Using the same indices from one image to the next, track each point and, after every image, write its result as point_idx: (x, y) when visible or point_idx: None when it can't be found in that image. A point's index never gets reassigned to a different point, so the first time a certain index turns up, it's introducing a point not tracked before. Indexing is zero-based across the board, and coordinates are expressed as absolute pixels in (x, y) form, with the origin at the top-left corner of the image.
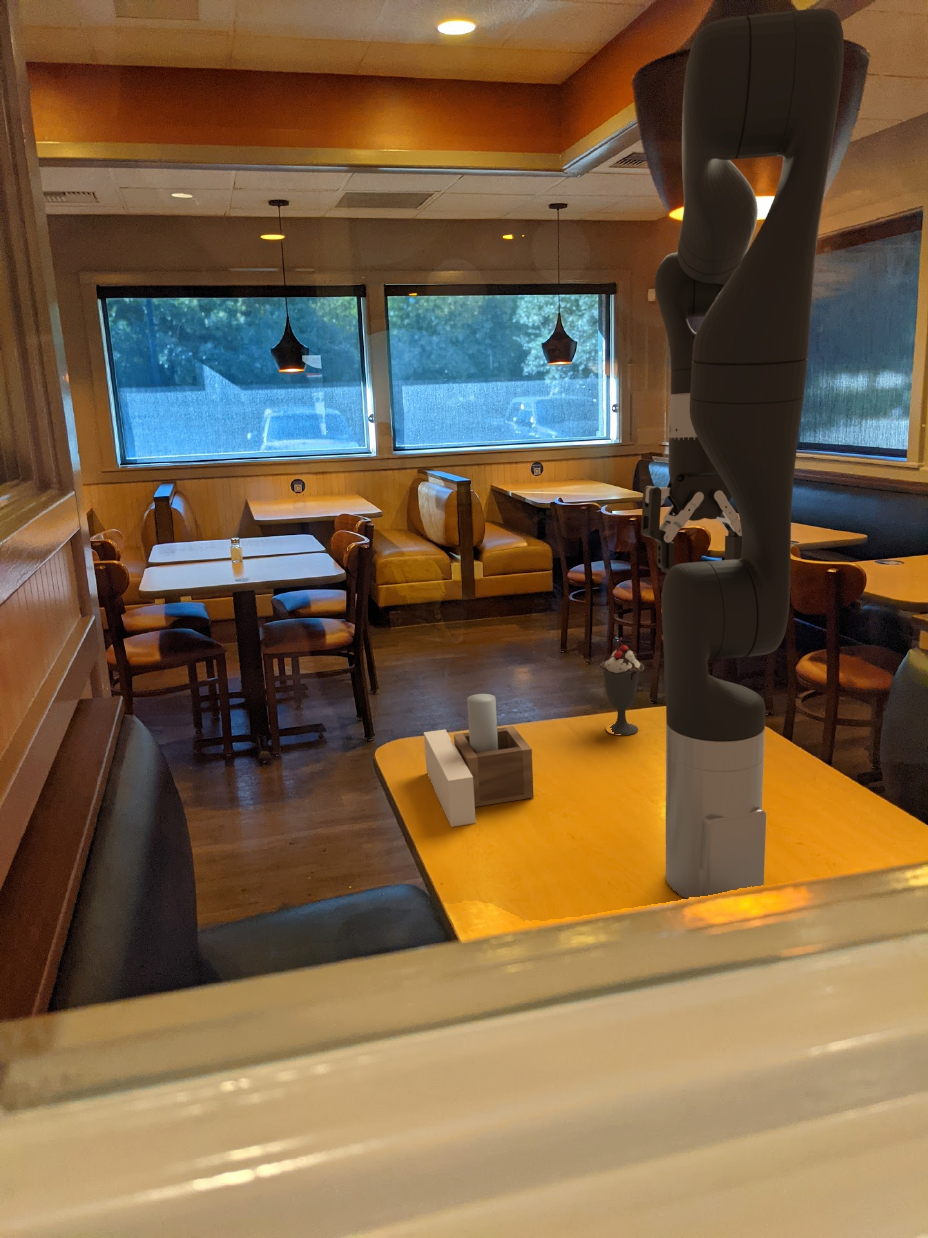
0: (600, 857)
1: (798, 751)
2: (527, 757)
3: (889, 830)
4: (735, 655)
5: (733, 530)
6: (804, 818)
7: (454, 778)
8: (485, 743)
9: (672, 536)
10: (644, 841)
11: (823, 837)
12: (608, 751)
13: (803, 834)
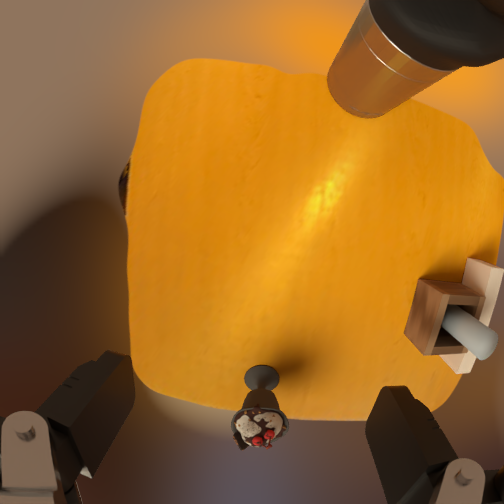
0: (419, 158)
1: (130, 254)
2: (442, 291)
3: (173, 88)
4: None
5: (56, 457)
6: (221, 129)
7: (500, 270)
8: (470, 315)
9: (450, 484)
10: (379, 160)
11: (231, 96)
12: (304, 342)
13: (243, 106)
